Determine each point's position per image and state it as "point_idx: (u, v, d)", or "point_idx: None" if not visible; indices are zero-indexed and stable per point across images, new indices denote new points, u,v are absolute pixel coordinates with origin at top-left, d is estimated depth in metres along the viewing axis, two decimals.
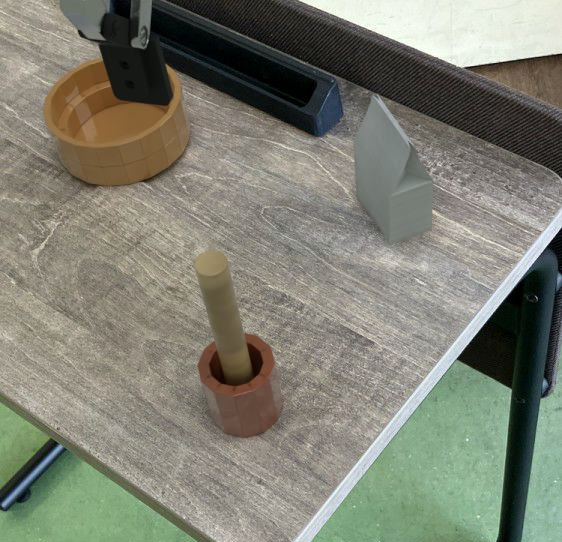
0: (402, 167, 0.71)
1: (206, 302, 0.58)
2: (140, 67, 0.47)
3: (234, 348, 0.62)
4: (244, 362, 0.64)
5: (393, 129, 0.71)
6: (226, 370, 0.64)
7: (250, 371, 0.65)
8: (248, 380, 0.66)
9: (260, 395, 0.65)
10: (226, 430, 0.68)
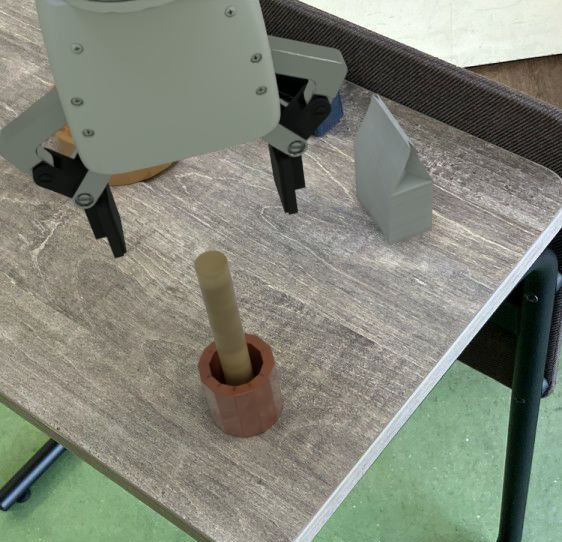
0: (402, 167, 0.71)
1: (206, 302, 0.58)
2: (89, 217, 0.50)
3: (234, 348, 0.62)
4: (244, 362, 0.64)
5: (393, 129, 0.71)
6: (226, 370, 0.64)
7: (250, 371, 0.65)
8: (248, 380, 0.66)
9: (260, 395, 0.65)
10: (226, 430, 0.68)
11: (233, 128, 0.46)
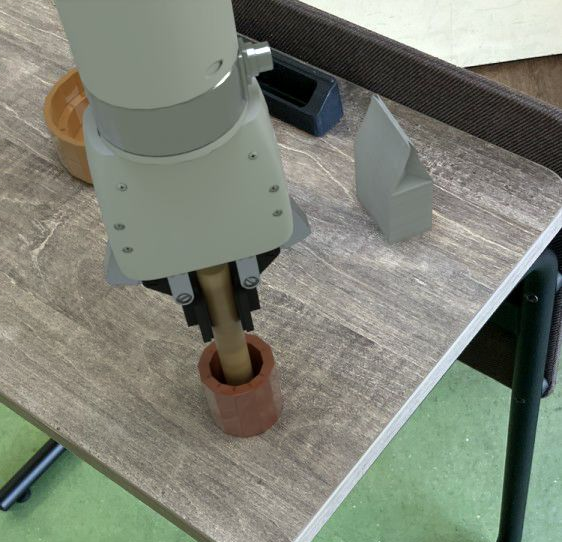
0: (402, 167, 0.71)
1: (206, 302, 0.58)
2: (184, 310, 0.58)
3: (234, 348, 0.62)
4: (244, 362, 0.64)
5: (393, 129, 0.71)
6: (226, 370, 0.64)
7: (250, 371, 0.65)
8: (248, 380, 0.66)
9: (260, 395, 0.65)
10: (226, 430, 0.68)
11: (253, 242, 0.53)
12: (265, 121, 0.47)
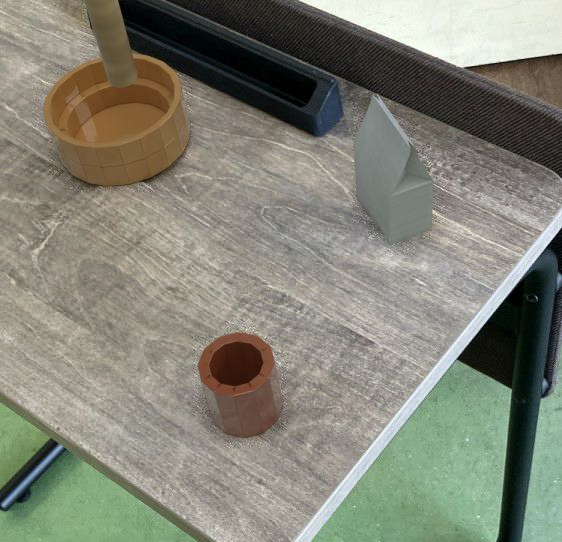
0: (402, 167, 0.71)
1: None
2: None
3: None
4: None
5: (393, 129, 0.71)
6: (91, 10, 0.59)
7: (119, 17, 0.60)
8: (117, 29, 0.60)
9: (260, 395, 0.65)
10: (226, 430, 0.68)
11: None
12: None
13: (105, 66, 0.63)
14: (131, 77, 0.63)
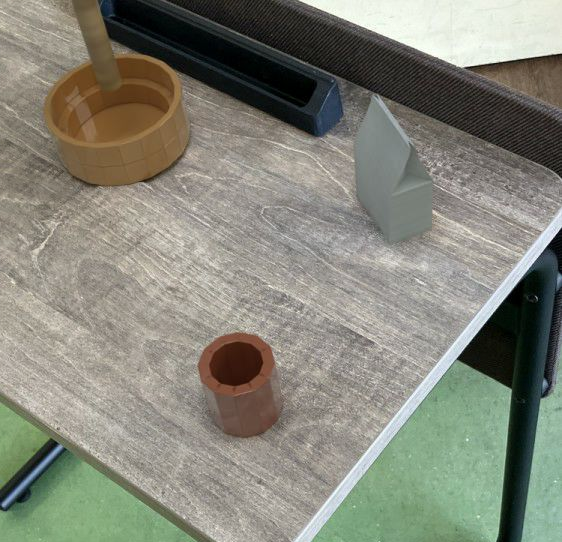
0: (402, 167, 0.71)
1: None
2: None
3: (86, 3, 0.75)
4: (97, 23, 0.76)
5: (393, 129, 0.71)
6: (84, 33, 0.77)
7: (106, 38, 0.78)
8: (105, 46, 0.78)
9: (260, 395, 0.65)
10: (226, 430, 0.68)
11: None
12: None
13: (96, 75, 0.81)
14: (117, 83, 0.81)
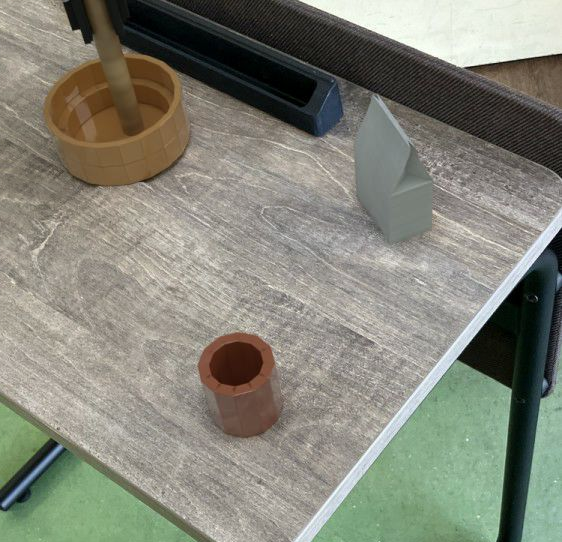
0: (402, 167, 0.71)
1: (84, 5, 0.74)
2: (67, 11, 0.74)
3: (112, 55, 0.78)
4: (122, 73, 0.79)
5: (393, 129, 0.71)
6: (109, 82, 0.80)
7: (130, 86, 0.81)
8: (129, 94, 0.81)
9: (260, 395, 0.65)
10: (226, 430, 0.68)
11: None
12: None
13: (120, 121, 0.84)
14: (139, 128, 0.84)
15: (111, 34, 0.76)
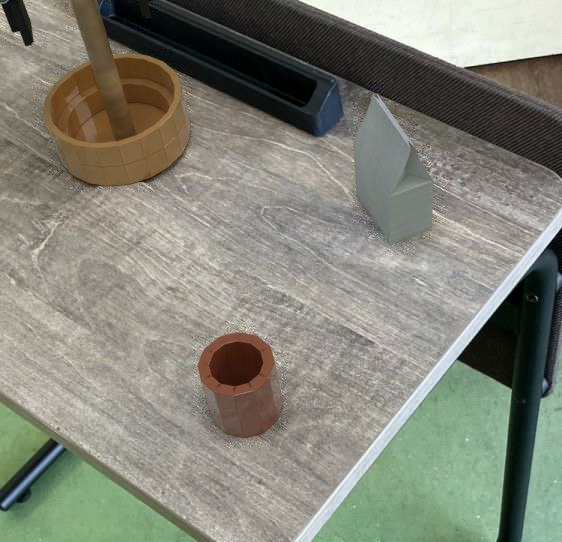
0: (402, 167, 0.71)
1: (77, 18, 0.76)
2: (5, 13, 0.74)
3: (104, 66, 0.80)
4: (115, 83, 0.81)
5: (393, 129, 0.71)
6: (102, 92, 0.82)
7: (122, 96, 0.83)
8: (121, 104, 0.83)
9: (260, 395, 0.65)
10: (226, 430, 0.68)
11: None
12: None
13: (113, 129, 0.86)
14: None
15: (103, 46, 0.78)
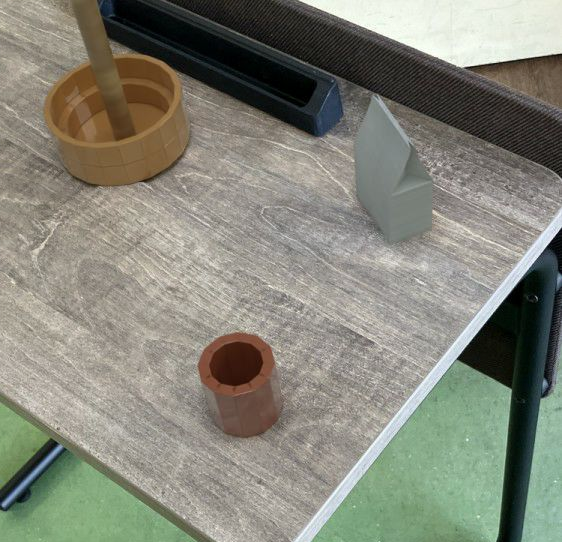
0: (402, 167, 0.71)
1: (77, 18, 0.76)
2: None
3: (104, 66, 0.80)
4: (115, 83, 0.81)
5: (393, 129, 0.71)
6: (102, 92, 0.82)
7: (122, 96, 0.83)
8: (121, 104, 0.83)
9: (260, 395, 0.65)
10: (226, 430, 0.68)
11: None
12: None
13: (113, 129, 0.86)
14: None
15: (103, 46, 0.78)
